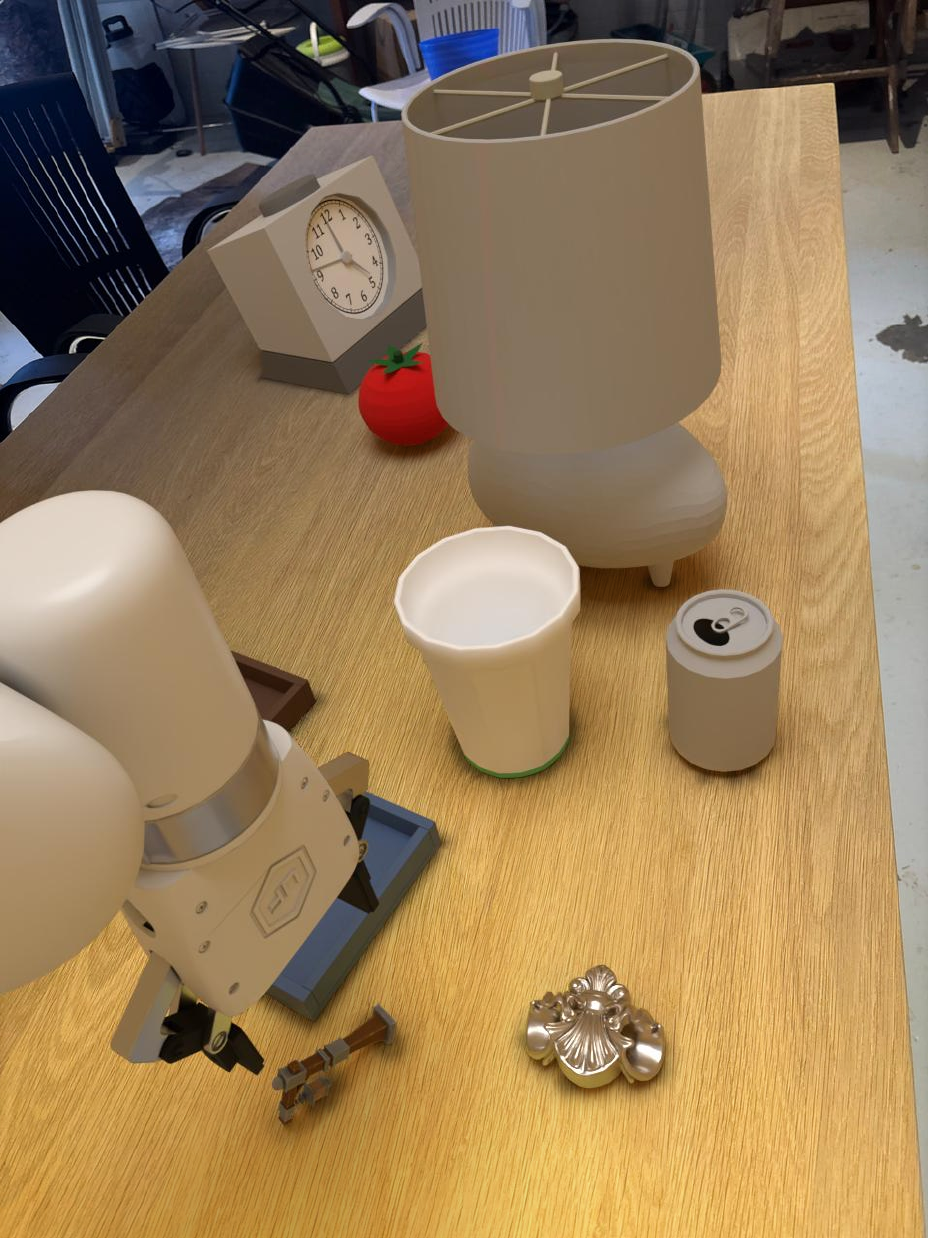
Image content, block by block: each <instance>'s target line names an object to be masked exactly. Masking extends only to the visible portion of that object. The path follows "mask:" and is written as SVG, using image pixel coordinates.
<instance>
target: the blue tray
mask: <svg viewBox="0 0 928 1238" xmlns="http://www.w3.org/2000/svg"><path fill="white" fill-rule="evenodd" d="M365 797H367V798H369V800H370V809H369V812H368V816H367V819H366V823H365V827H364V831H363V835H362V839H364V840H366V841H367V842H368V844H369V848H368V852H367V854H366V856H365V858H364V859H363V860H364V862H365V865H366V867H367V869H368V872H369V874H370V877H371V880H370V883H371V885H372V887H373V890H374V892H375V894H376V897H377V899H378V901H379V906H378V907H377V908H376V910H375V911H374V912H370V914H368V913H366V912H364V911H362V910H360V909H358V908H356V907H354V906H352V905H350V904H348V903H346V902H344V901H342V900H340V899H338V898H336V899H335V900H334V902H333V903H332V905H331V906H330V907H329V909H328V910H327V911H326V913H325V914H324V916H323V917H322V918H321V920H320V921H319V922H318V924H317V925H316V926H315V928H314V929H313V931H312V932H311V933H310V935H309V936H308V937H307V939H306V940H305V941H304V943H303V944H302V945H301V947H300V948H299V949H298V951H297V952H296V953H295V955H294V956H293V957H292V959H291V960H290V961H289V963H288V964H287V965H286V967H285V968H284V969H283V971H282V972H281V973H280V975H279V976H278V977H277V978H276V980H275V981H274V982H273V984H272V985H271V986H270V987H269V989H268V990H267V991H266V992H265V993H264V994H266V995H268V996H269V997H271V998H273V999H274V1000H276V1001H278V1002H280V1003H281V1004H283V1005H285V1006H286V1007H288V1008H289V1009H291V1010H293V1011H294V1012H296V1013H298V1014H300V1015H301V1016H303V1017H305V1018H306V1019H308V1020H309V1021H311V1022H313V1023H315V1022H316V1020H318V1017H319V1016H320V1015H321V1013H322V1012H323V1011H324V1010H325V1008H326V1007H327V1005H328V1003H329V1002H330V1000H332V998H333V996H334V995H335V994H336V992H337V991H338V990H339V988H340V987H341V986H342V984H343V983H344V982H345V980H346V978H348V975H349V974H350V973H351V971H352V970H353V968H354V967H355V966H356V964H357V963H358V961H359V960H360V959H361V958H362V956H363V954H364V953H365V952H366V950H367V949H368V947H370V945H371V944H372V942H373V940H374V939H375V938H376V936H377V935H378V933H379V932H380V930H381V929H382V928H383V926H384V925H385V923H386V922H387V921H388V919H389V918H390V917H391V915H392V913H393V912H394V911H395V909H396V908H397V907H398V905H399V904H400V903H401V901H402V900H403V898H404V897H405V895H406V894H407V893H408V891H409V890H410V889H411V887H412V885H413V884H414V883H415V881H416V880H417V879H418V877H419V876H420V874H421V873H422V872H423V870H424V869H425V868H426V866H427V865H428V863H429V862H430V861H431V859H432V857H433V856H434V855H435V853H436V852H437V850H438V849H439V848H440V847H441V845H442V841H441V837H440V833H439V829H438V826H437V823H436V821H435V820H433V819H431V818H428V817H426V816H424V815H422V814H420V813H417V812H414V811H412V810H410V809H408V808H405V807H403V806H401V805H398V804H397V803H394V802H392V801H390V800H387V799H385V798H382V797H381V796H378V795H376V794H373V793H371V792H369V791H368V790H367V791H365Z"/></svg>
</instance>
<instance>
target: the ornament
mask: <svg viewBox="0 0 928 1238" xmlns="http://www.w3.org/2000/svg"><path fill="white" fill-rule="evenodd" d="M542 996H543V997H542V999H534V1000H531V1001H529V1007H528V1008H529V1009H528V1010H529V1011H528V1017H527V1022H526V1027H525V1036H524V1037H525V1038H524V1043H525V1049H526V1052H527V1053H528V1055H529V1056H530V1058H532V1059H533V1060H541V1059H542V1062H541V1063H542V1065H543V1066H545V1067H546V1066H548V1065H549V1064H550V1063H552V1061H554V1059H556V1061H557V1064H558V1066H559V1068H560V1070H561V1072H562V1074H563V1075H564V1076H565V1077H566V1078H567V1079H568V1080H569V1081H571V1083H573V1084H575V1085H576V1086H578V1087H580V1088H584V1089H594V1088H599V1087H602V1086H606V1085H608V1084H610V1083H611V1082H613V1080H615V1079H616V1078H618V1076H619V1075H620V1074H623V1075H624V1076H625V1079H626V1080H627V1082H628V1083H629V1084H634V1083H635V1080H637V1081H640V1082H646V1081H650V1080H652V1079H653V1078H654V1077H655V1076H656V1075H657V1074H658V1073H659V1072H660V1070H661V1068H662V1065H663V1062H664V1056H665V1047H666V1046H665V1043H666V1040H665V1038H666V1037H665V1028H664V1026H663V1025H661V1024H660V1023H659V1022H658V1021H656V1020H655V1018H654V1017H653V1016H652V1014H651V1013H650V1012H649V1010H648V1009H646V1008H643V1007H640V1008H639V1009H638V1007H637V1006H636V1005H634V1004H631V1003H632V1002H631V1001H632V997H631V996H632V995H631V992H630V989H629V988H628V987H627V986H625V985H624V984H621V983H618V978H617V975H616V973H615V972H614V971H613V970H612V969H611V967H609V966H607V965H606V964H598V965H595V966H593V967H591V968H589V969H587V970H586V971H585V973H584V977H582V976H579V977H574V978H573V979H571V981H570V982H569V983H568V990H566V991H564V993H562V991H557V992H556V994H554V993H553V992H552V991H546V993H545V994H544V995H542ZM622 1033H623V1034H622ZM627 1050H628V1057H627Z"/></svg>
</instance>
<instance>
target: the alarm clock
mask: <svg viewBox="0 0 928 1238" xmlns="http://www.w3.org/2000/svg"><path fill="white" fill-rule="evenodd" d="M258 209H259V211H260V213H261V215H259V216H258V217H256V218H255V219H253V220H251V221H249V223H247V224H245V225H244V226H242V227H241V228H239V229H238V230H237V231H235V232H233V233H232V234H229V236H227V237H226V238H224V239H223V240H221V241H220V242H218V243H216V244H215V245H213V246H212V247H211V248H209V249H208V250H206V252H207V254H208V256H209V259H211V261H212V263H213V265H214V267H215V269H216V271H217V272H218V274H219V276H220V278H221V280H222V282H223V283H224V285H225V287H226V289H227V291H228V293H229V294H230V297H231V298H232V300H233V303H234V304H235V306H236V308H237V310H238V311H239V313H240V315H241V317H242V319H243V321H244V323H245V324H246V327H247V328H248V330H249V332H250V334H251V336H252V338H253V339H254V341H255V343H256V345H257V347H258V348H259V350H261V351H260V359H261V373H262V374H261V375H262V378H263V379H267V380H268V379H269V380H272V381H273V380H274V381H278V382H283V383H288V384H293V385H298V386H303V387H309V388H315V389H318V390H323V391H330V392H335V393H340V394H345V395H350V394H351V393H352V392H353V391H355V390H356V389H357V388H358V387H360V385H361V383H362V381H363V379H364V377H365V376H366V374H367V372H368V371H369V370H370V368H372V367H373V366H374V365H375V363H372V362H369V361H367V360H379V359H383V358H385V357H387V356H388V353H387V348H388V344H389V345H391V346H392V347H394V348H395V349H397V350H398V351H400V350H401V349H402V348H403V347H404V346H406V345H407V344H408V343H409V342H410V341H411V340H412V339H413V338H415V337H416V336H417V335H418V334H419V333H420V332H422V330H423V329H424V328H427V324H426V316H425V308H424V299H423V291H422V283H421V274H420V266H419V258H418V254H417V252H416V250H415V248H414V246H413V243H412V241H411V238H410V237H409V234H408V232H407V230H406V228H405V225H404V223H403V221H402V218H401V216H400V214H399V211H398V209H397V207H396V205H395V202H394V200H393V198H392V195H391V193H390V191H389V188H388V186H387V184H386V181H385V179H384V177H383V175H382V173H381V170H380V167H379V166H378V164H377V161H376V158H375V157H374V155H373V154H372V155H370V156H368V157H365V158H363V159H360V160H357V161H356V162H353V163H351V164H348V165H346V166H344V167H342V168H339V169H337V170H335V171H332V172H330V173H327V174H326V175H323V176H321V177H319V178H317V177H316V175H314V174H313V173H311V174H307V175H304V176H303V177H300V178H297V179H296V180H293V181H292V182H290V183H288V184H286V185H284V186H282V187H281V188H279V189H278V190H276V191H274V192H272V193H270V194H269V195H267V196H266V197H265V198H263V199H261V200H260V201H259V203H258Z"/></svg>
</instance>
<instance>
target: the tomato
mask: <svg viewBox="0 0 928 1238" xmlns="http://www.w3.org/2000/svg"><path fill="white" fill-rule="evenodd" d="M422 345H423V342H421V343H419V344H418V345H416V346H414V347H412V348H411V349H409V350H408V351H401V350H397V349H395V348H394V347H392V346H391V345H389V344H388V348H387V353H388V356H387V357H385V358H383V359H379V360H367V361H369V362H372V363H375V365H374V366H373V367H372V368H370V370H369V371H368V372H367V374H366V376H365V377H364V379H363V381H362V383H361V384H360V385H359V390H358V401H357V402H358V412H359V415H360V416H361V419H362V420H363V422H364V423H365V425H366V426H367V428H368V431H370V432H371V433H372V434H373V435H375V436H376V437H378V438H379V439H381V440H382V441H384V442H387V443H389V444H393V445H396V446H403V447H404V446H405V447H406V446H407V447H408V446H418V445H422V444H424V443H427V442H429V441H431V440H432V439H435V438H436V437H438V436H439V435H440V434H441V433H442V432H443V431H444V430H446V428H447V427H448V426H449V423H448V422H447V421H446V420H445V419H444V418H443V417H442V415H441V413H440V411H439V409H438V407H437V403H436V398H435V391H434V382H433V374H432V366H431V357H430V353H428V352H423V351H419V350H420V349H421V347H422Z"/></svg>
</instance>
